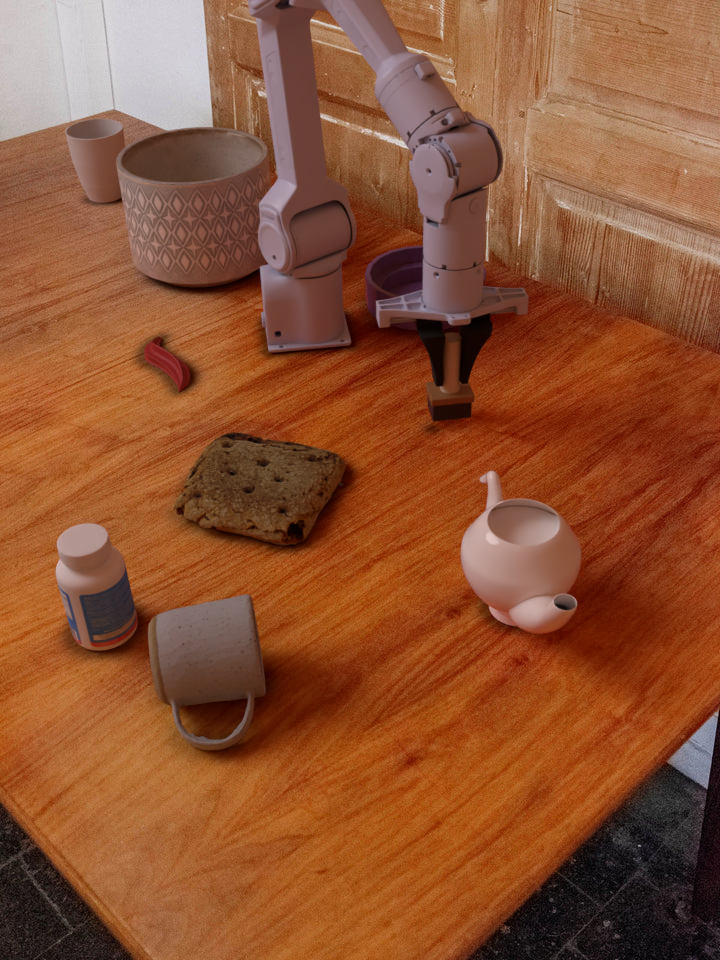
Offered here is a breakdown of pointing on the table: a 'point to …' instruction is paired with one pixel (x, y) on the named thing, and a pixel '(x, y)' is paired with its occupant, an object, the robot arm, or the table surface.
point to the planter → (195, 204)
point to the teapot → (522, 561)
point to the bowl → (397, 279)
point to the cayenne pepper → (167, 363)
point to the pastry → (260, 487)
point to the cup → (97, 156)
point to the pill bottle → (95, 588)
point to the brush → (450, 386)
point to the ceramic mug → (207, 660)
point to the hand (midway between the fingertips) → (449, 380)
